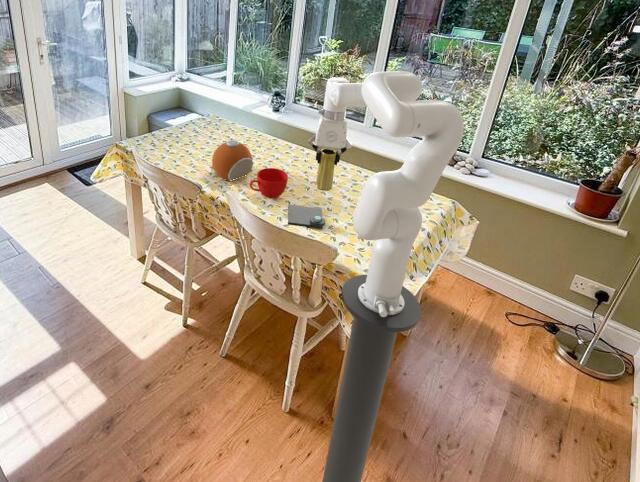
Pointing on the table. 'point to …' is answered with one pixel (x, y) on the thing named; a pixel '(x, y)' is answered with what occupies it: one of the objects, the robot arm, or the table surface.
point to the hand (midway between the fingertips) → (327, 162)
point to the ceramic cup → (271, 182)
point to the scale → (305, 216)
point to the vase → (326, 170)
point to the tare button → (317, 219)
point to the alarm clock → (232, 160)
